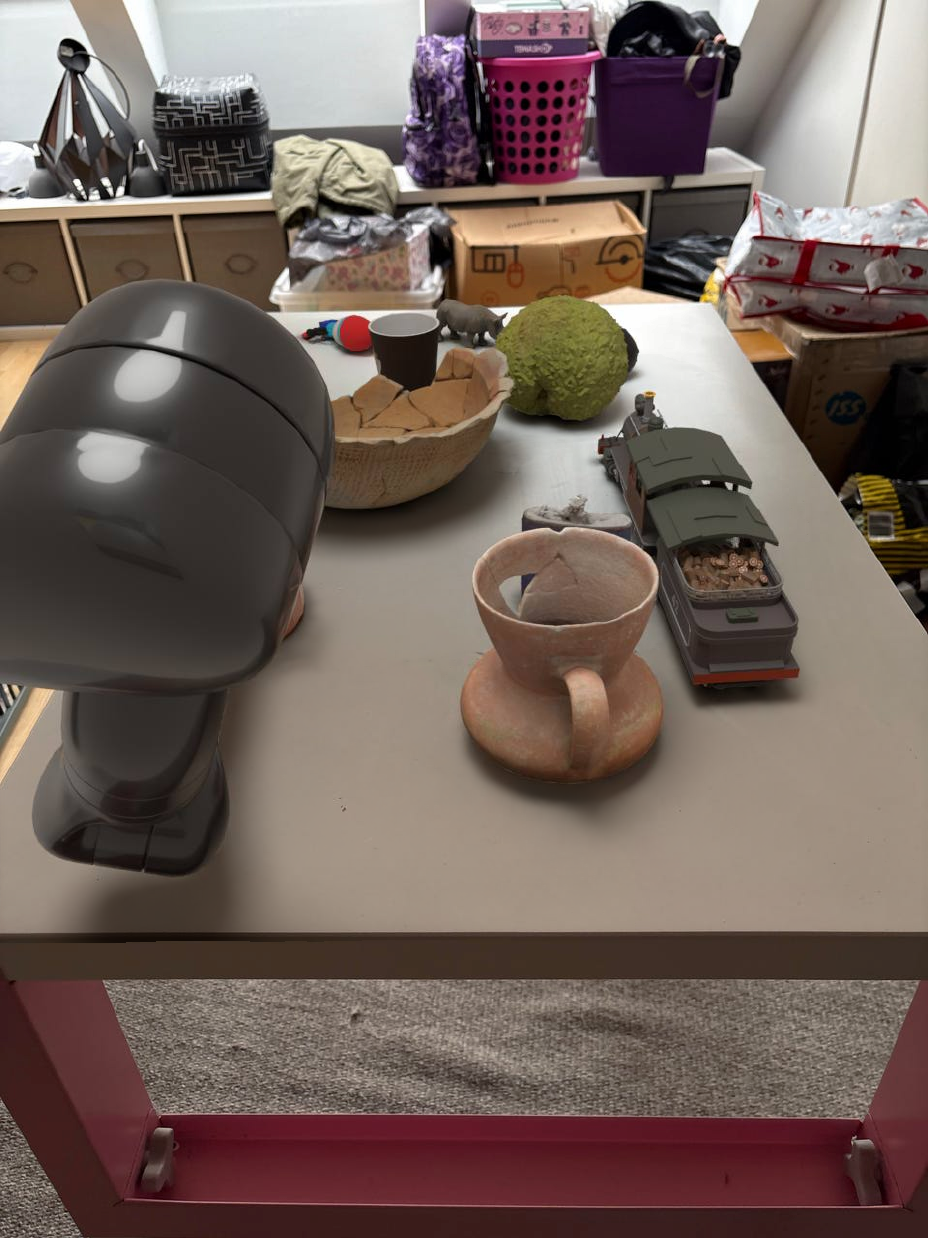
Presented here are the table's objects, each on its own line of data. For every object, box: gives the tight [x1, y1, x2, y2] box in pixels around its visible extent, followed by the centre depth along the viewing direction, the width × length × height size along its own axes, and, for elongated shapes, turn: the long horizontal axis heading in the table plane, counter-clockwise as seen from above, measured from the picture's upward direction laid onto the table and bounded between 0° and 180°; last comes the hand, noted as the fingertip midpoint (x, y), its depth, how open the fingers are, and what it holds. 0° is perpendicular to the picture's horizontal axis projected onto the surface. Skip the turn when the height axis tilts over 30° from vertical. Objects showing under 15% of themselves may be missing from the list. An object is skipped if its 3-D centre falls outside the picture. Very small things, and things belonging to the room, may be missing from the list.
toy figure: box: [300, 314, 372, 352], centre depth 139 cm, size 8×5×15 cm
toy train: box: [597, 390, 801, 690], centre depth 88 cm, size 45×9×11 cm, turn 3°
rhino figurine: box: [435, 298, 509, 350], centre depth 136 cm, size 4×14×6 cm, turn 54°
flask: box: [520, 494, 634, 598], centre depth 81 cm, size 9×3×11 cm, turn 78°
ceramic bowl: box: [324, 346, 515, 510], centre depth 100 cm, size 30×27×15 cm
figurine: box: [621, 327, 640, 375], centre depth 130 cm, size 8×7×18 cm
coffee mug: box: [368, 312, 439, 392], centre depth 120 cm, size 12×9×10 cm
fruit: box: [494, 294, 629, 422], centre depth 114 cm, size 16×14×15 cm
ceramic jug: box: [459, 527, 665, 785], centre depth 66 cm, size 18×14×14 cm
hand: (215, 521), depth 81 cm, fingers open, 8 cm apart
